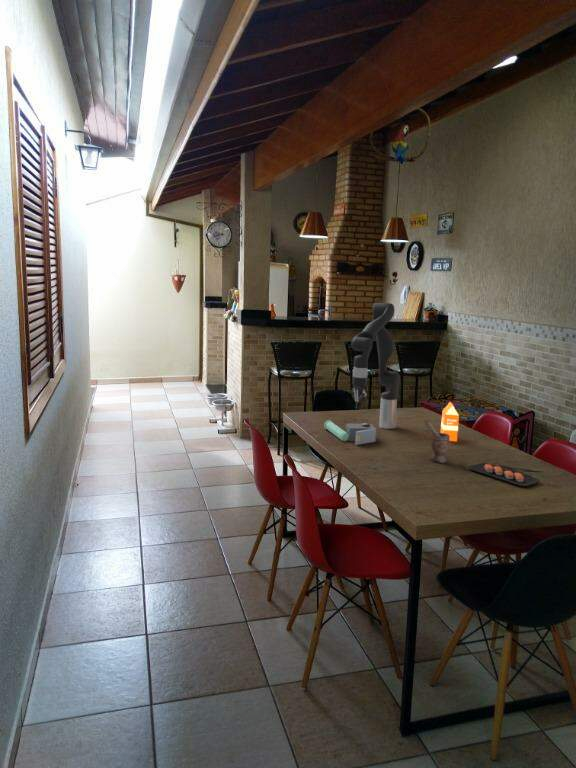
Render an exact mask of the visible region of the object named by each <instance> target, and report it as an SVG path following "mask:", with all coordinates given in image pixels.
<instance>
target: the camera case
mask: <svg viewBox="0 0 576 768" xmlns="http://www.w3.org/2000/svg"><path fill="white" fill-rule="evenodd" d="M374 428H376V427H375V426H374V425H373V424H372V423H368V422H363V423H345V432H346V433H347V434H348V435H349V439H348V440H347V441H349V442H355V438H356V431H362V430H368V429H374Z"/></svg>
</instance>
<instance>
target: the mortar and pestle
mask: <svg viewBox="0 0 576 768" xmlns="http://www.w3.org/2000/svg"><path fill="white" fill-rule="evenodd" d="M424 423H425V426H426V427H427V428H428V429H429V430H430V432H431V434H430V448H431V451H433V452H434V453H433V455H431V457H430V461H431V462H433V463H438V464H439V463H440V464H443V463H447V462H448V461H447V458H446V456H445V453H446V452H447V451H448V448H449V446H450V441H449V438H450V435H448V434H446V433H440V432H437V430H436V428H435V426H434V424H433V422H432V421H431V420H430V419H429V418H428V419H426V420H425V421H424Z"/></svg>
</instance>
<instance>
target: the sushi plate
mask: <svg viewBox="0 0 576 768" xmlns="http://www.w3.org/2000/svg"><path fill="white" fill-rule="evenodd" d="M496 464H497V465H495V464H492V463H487V462H480V463H477V464H473V465H469V467H468V469H469V470H471V471H473V472H476V473H480V474H484V475H486V476H488V477H492V478H494V479H498V480H500V481H504V482H507V483H510V484H513V485H516V486H520V487H529V486H532V485H535V484H537V483H538V484H539V482H540V479H538V478H536V477H534V476H532V475H529V474H527V473H524V472H523V471H526V472H534V473H542V470H541V471H540V470H534V469H533V470H532V469H525V468H517V467H509V466H506V465H503V464H501V463H499V462H496ZM519 470H521V471H519Z"/></svg>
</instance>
